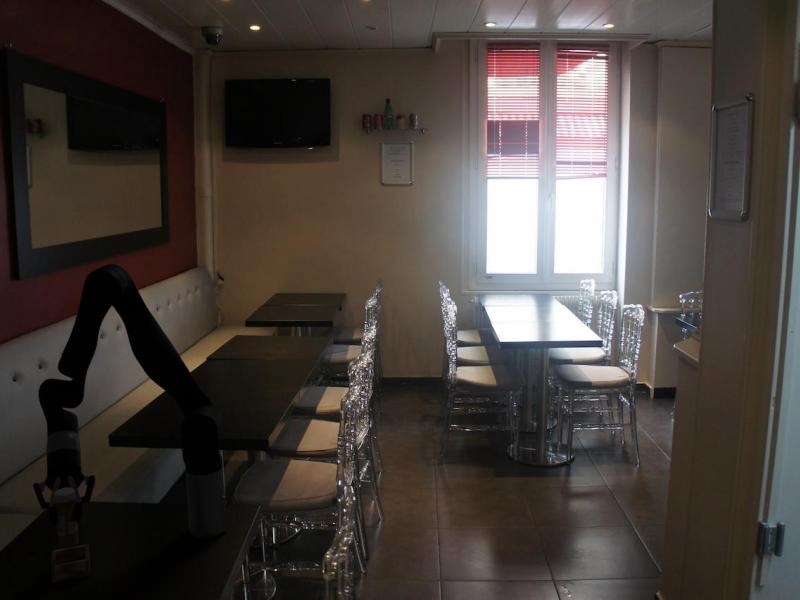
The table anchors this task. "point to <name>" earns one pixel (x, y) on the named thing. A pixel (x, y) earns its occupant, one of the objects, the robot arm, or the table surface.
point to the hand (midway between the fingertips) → (66, 522)
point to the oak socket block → (70, 563)
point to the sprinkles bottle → (66, 518)
